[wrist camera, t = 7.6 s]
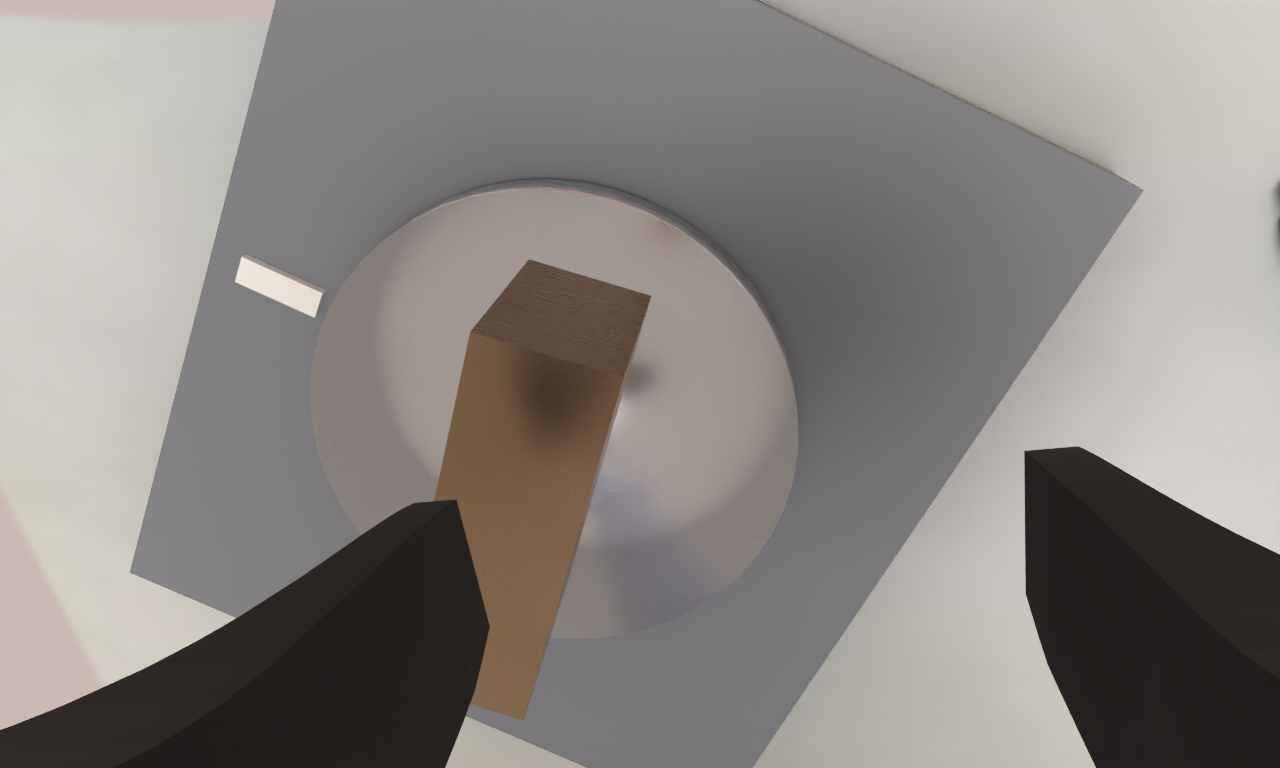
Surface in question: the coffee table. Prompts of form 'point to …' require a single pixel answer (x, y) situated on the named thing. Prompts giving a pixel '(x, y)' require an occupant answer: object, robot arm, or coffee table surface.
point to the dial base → (708, 201)
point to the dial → (560, 410)
